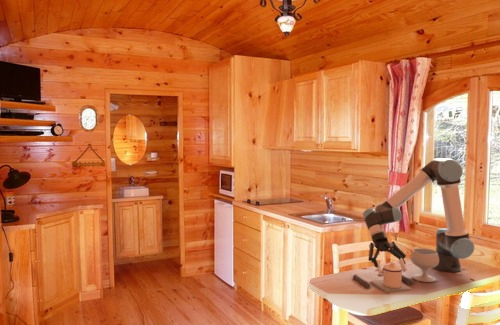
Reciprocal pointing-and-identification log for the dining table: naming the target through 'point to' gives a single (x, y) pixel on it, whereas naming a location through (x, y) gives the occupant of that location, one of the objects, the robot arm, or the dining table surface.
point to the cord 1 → (361, 281)
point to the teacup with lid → (392, 275)
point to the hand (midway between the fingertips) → (393, 271)
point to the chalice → (424, 263)
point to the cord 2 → (407, 280)
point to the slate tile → (387, 289)
